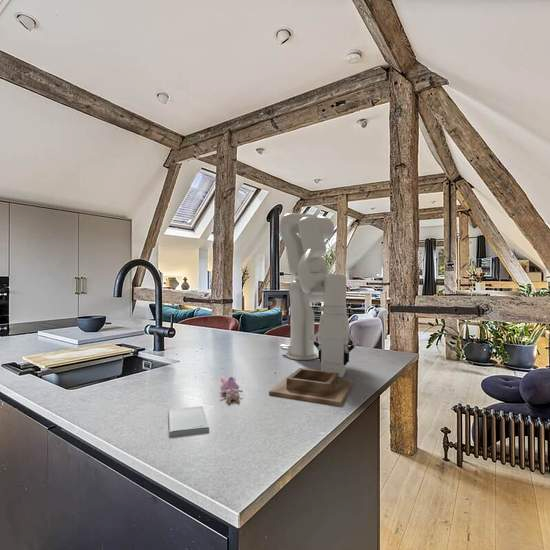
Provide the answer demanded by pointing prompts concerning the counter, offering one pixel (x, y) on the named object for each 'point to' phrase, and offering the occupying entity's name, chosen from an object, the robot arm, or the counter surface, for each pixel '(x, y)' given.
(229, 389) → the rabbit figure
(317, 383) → the walnut holder
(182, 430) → the hard drive
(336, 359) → the supplement box
